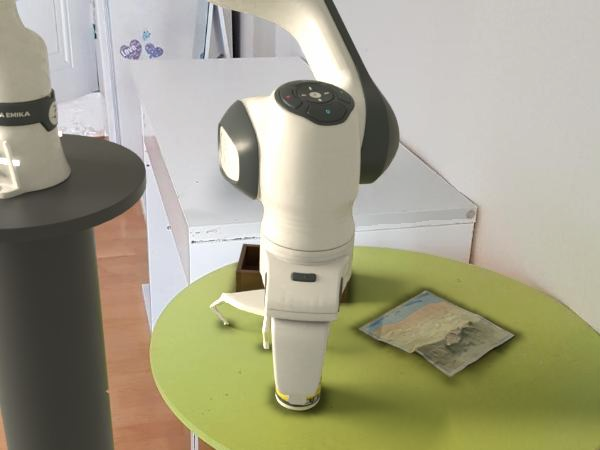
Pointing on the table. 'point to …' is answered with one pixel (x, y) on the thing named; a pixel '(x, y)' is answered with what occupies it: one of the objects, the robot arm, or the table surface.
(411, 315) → the topographic map
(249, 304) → the origami figure
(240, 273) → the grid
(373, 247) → the table surface
